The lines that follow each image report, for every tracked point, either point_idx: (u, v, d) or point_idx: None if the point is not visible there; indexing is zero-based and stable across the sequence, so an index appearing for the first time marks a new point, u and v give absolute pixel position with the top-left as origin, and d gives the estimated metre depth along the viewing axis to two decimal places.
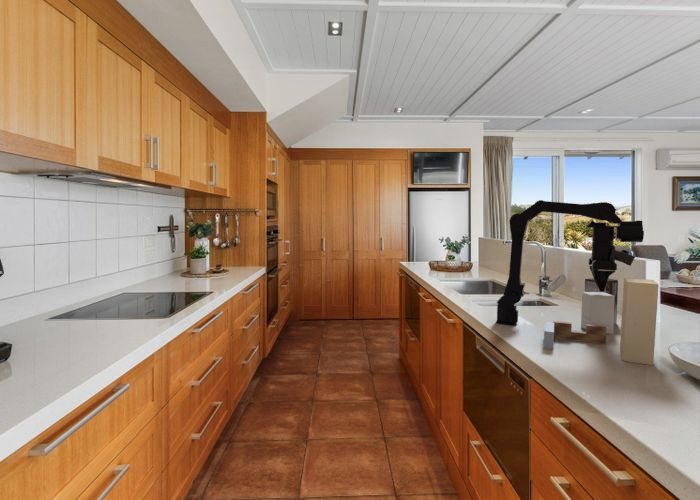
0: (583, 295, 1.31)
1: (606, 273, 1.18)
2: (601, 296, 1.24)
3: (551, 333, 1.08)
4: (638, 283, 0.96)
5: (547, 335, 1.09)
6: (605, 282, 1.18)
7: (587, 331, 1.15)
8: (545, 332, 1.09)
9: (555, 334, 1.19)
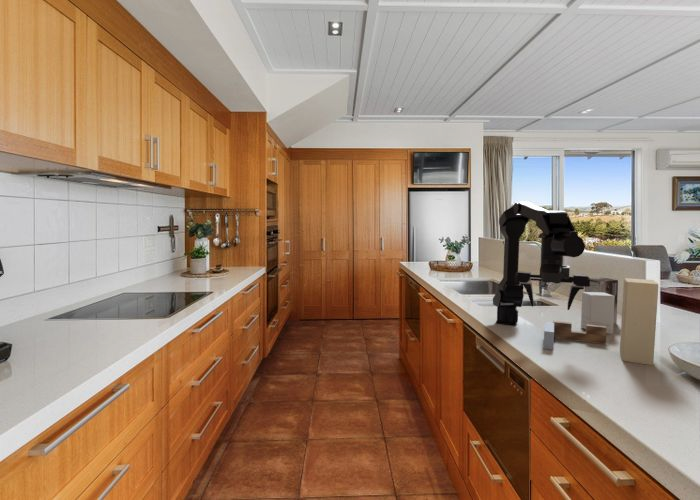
0: (583, 295, 1.31)
1: None
2: (601, 296, 1.24)
3: (551, 333, 1.08)
4: (638, 283, 0.96)
5: (547, 335, 1.09)
6: (529, 296, 1.12)
7: (587, 331, 1.15)
8: (545, 332, 1.09)
9: (555, 334, 1.19)
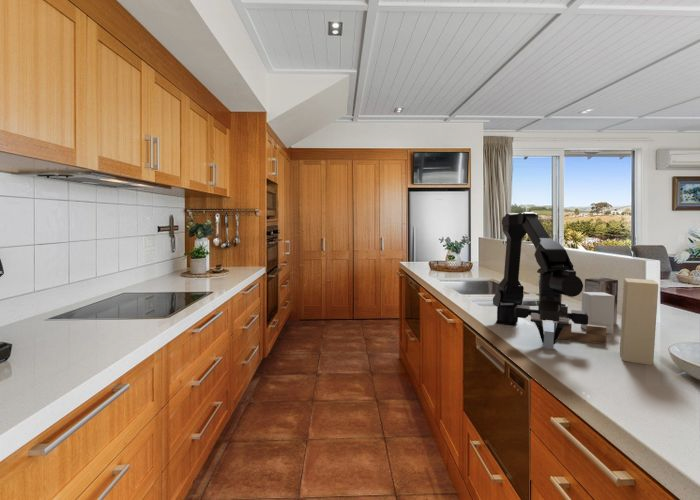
0: (583, 295, 1.31)
1: None
2: (601, 296, 1.24)
3: (551, 333, 1.08)
4: (638, 283, 0.96)
5: (547, 335, 1.09)
6: None
7: (587, 331, 1.15)
8: (545, 332, 1.09)
9: None
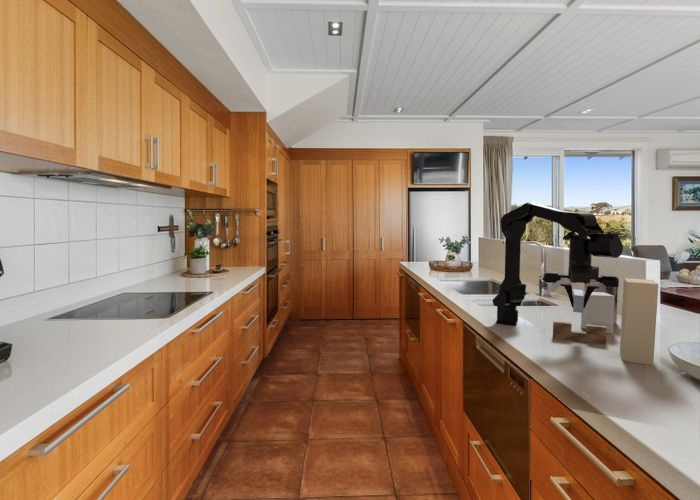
0: None
1: None
2: (601, 296, 1.24)
3: (581, 297, 1.10)
4: (638, 283, 0.96)
5: (577, 299, 1.11)
6: (569, 297, 1.13)
7: (587, 331, 1.15)
8: (575, 296, 1.11)
9: (555, 334, 1.19)
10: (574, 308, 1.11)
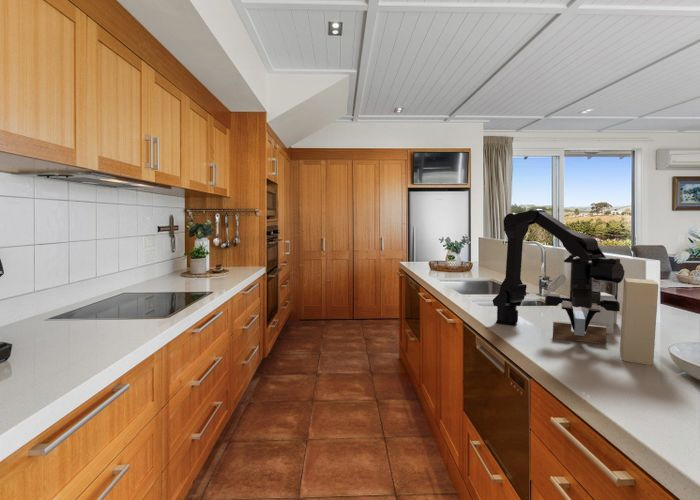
0: None
1: None
2: (601, 296, 1.24)
3: (582, 320, 1.11)
4: (638, 283, 0.96)
5: (578, 322, 1.12)
6: (570, 320, 1.14)
7: (587, 331, 1.15)
8: (576, 319, 1.12)
9: (555, 334, 1.19)
10: (575, 331, 1.12)
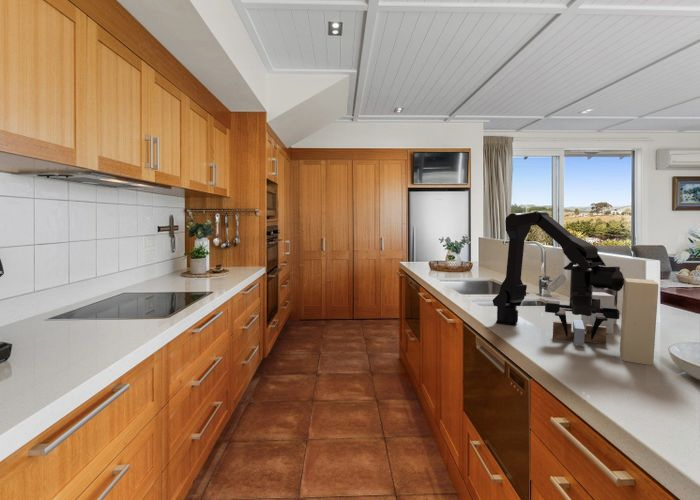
0: None
1: None
2: (601, 296, 1.24)
3: (582, 330, 1.11)
4: (638, 283, 0.96)
5: (578, 332, 1.12)
6: (563, 326, 1.15)
7: (587, 331, 1.15)
8: (576, 329, 1.12)
9: (555, 334, 1.19)
10: (575, 341, 1.12)
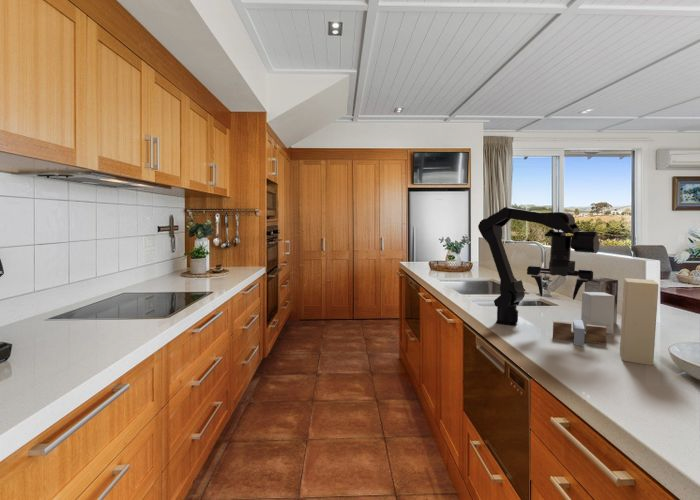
0: (583, 295, 1.31)
1: None
2: (601, 296, 1.24)
3: (582, 330, 1.11)
4: (638, 283, 0.96)
5: (578, 332, 1.12)
6: None
7: (587, 331, 1.15)
8: (576, 329, 1.12)
9: (555, 334, 1.19)
10: (575, 341, 1.12)
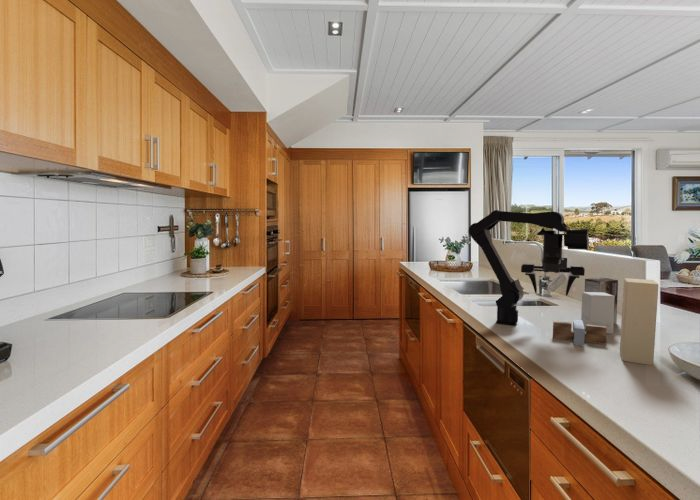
0: (583, 295, 1.31)
1: None
2: (601, 296, 1.24)
3: (582, 330, 1.11)
4: (638, 283, 0.96)
5: (578, 332, 1.12)
6: (533, 285, 1.31)
7: (587, 331, 1.15)
8: (576, 329, 1.12)
9: (555, 334, 1.19)
10: (575, 341, 1.12)
